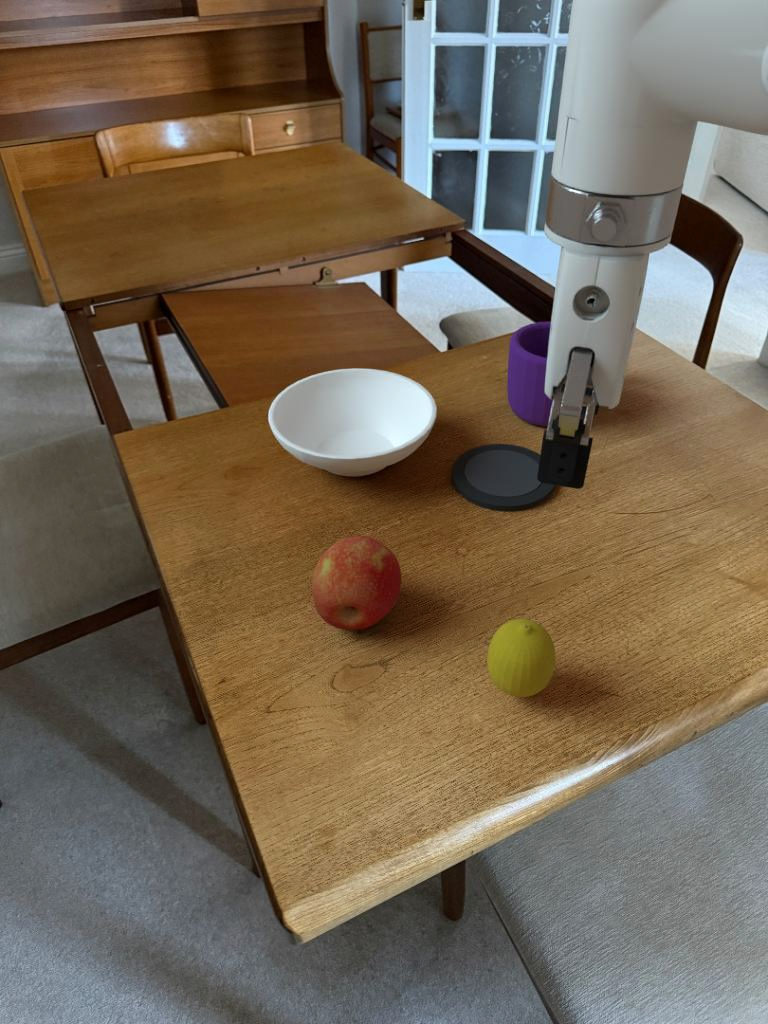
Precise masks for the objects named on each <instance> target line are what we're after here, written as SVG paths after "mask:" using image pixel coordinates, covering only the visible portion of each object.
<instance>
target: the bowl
mask: <svg viewBox="0 0 768 1024" xmlns="http://www.w3.org/2000/svg"><path fill="white" fill-rule="evenodd" d="M437 411H438V408H437V404H436V400H435V398H434V397H433V396H432V394H431V392H430V391H429V390H428V389H427V388H426V387H425V386H423V385H422V384H420V383H419V382H417V381H415V380H414V379H412V378H410V377H407V376H404V375H402V374H399V373H396V372H391V371H387V370H382V369H375V368H374V369H373V368H359V367H358V368H357V367H356V368H355V367H354V368H353V367H352V368H341V369H340V368H339V369H333V370H328V371H323V372H320V373H316V374H312V375H310V376H306V377H305V378H302V379H299V380H297V381H296V382H294V383H292V384H290V385H288V386H287V387H285V389H283V390H282V391H281V392H279V393H278V394H277V396H276V397H275V398H274V400H273V401H272V402H271V405H270V407H269V409H268V418H267V419H268V420H267V421H268V423H269V427H270V429H271V432H272V435H273V436H274V438H276V440H277V442H278V443H279V444H280V445H281V447H282V448H283V449H284V450H286V451H287V452H288V453H289V454H291V456H293V457H294V458H296V459H297V460H298V461H300V462H302V463H304V464H306V465H308V466H310V467H314V468H317V469H320V470H325V471H327V472H329V473H330V474H334V475H338V476H343V477H344V476H345V477H363V476H367V475H368V476H369V475H372V474H376V473H377V472H380V471H382V470H384V469H385V468H386V467H388V466H391V465H394V464H397V463H399V462H401V461H402V460H404V459H407V457H409V456H411V454H413V453H414V452H415V451H417V450H418V449H419V447H420V446H422V444H423V443H424V442H425V440H427V438H428V437H429V435H430V433H431V432H432V429H433V427H434V425H435V422H436V420H437Z"/></svg>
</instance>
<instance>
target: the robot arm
mask: <svg viewBox="0 0 768 1024" xmlns="http://www.w3.org/2000/svg"><path fill="white" fill-rule="evenodd" d="M570 11H571V12H570V17H569V26H568V33H567V43H566V49H565V56H564V57H565V58H564V65H563V74H562V81H561V82H562V83H561V90H560V98H559V107H558V116H557V124H556V125H557V126H556V133H555V139H554V140H555V141H554V148H553V156H552V164H551V172H550V173H551V174H550V180H549V189H548V197H547V205H546V213H545V222H544V229H543V230H544V235H545V236H546V238H547V239H548V240H549V241H551V242H552V243H554V244H556V245H557V246H560V251H559V252H560V253H559V258H558V259H559V260H558V265H557V266H558V267H557V273H556V281H555V290H554V296H553V301H552V310H551V318H550V322H551V327H550V335H549V345H548V355H547V366H546V378H545V394H546V395H547V396H548V398H550V399H551V400H552V399H553V402H552V407H551V412H550V417H549V422H548V427H546V429H544V430H543V434H542V441H541V448H540V453H539V454H540V461H539V468H538V474H537V479H538V481H539V482H542V483H547V484H553V485H555V486H558V487H560V486H561V487H564V488H565V487H566V488H570V489H575V490H580V489H581V490H582V488H583V487H585V486H584V485H585V480H586V475H587V471H588V466H589V462H590V461H589V460H590V456H591V451H592V446H593V440H594V437H590V435H591V430H592V426H593V421H594V417H595V416H596V415H598V413H599V410H600V407H607V409H609V410H612V409H614V408H616V407H617V406H618V405H619V404H620V401H621V396H622V391H623V387H624V383H625V382H624V381H625V376H626V373H627V368H628V364H629V359H630V355H631V351H632V345H633V341H634V337H635V333H636V327H637V323H638V319H639V314H640V309H641V305H642V299H643V294H644V289H645V285H646V278H647V273H648V268H649V267H648V266H649V260H650V254H652V253H655V252H658V251H661V250H663V249H664V248H666V247H667V246H668V245H669V244H670V242H671V240H672V235H673V231H674V227H675V223H676V218H677V215H678V210H679V205H680V201H681V196H682V192H683V188H684V182H685V179H686V174H687V169H688V166H689V161H690V156H691V152H692V147H693V144H694V140H695V135H696V131H697V126H698V122H700V123H705V124H711V125H714V126H720V127H723V128H724V127H725V128H728V129H733V130H737V131H742V132H746V133H751V134H755V135H761V136H767V137H768V0H572V2H571V9H570ZM559 412H560V414H559ZM581 414H585V415H584V418H581V419H580V416H581Z"/></svg>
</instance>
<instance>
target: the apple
mask: <svg viewBox="0 0 768 1024" xmlns="http://www.w3.org/2000/svg"><path fill="white" fill-rule="evenodd" d="M401 586H402V571H401V565H400V563H399V560H398V557H396V555H395V554H394V552H393V551H392V550H391V549H390V548H388V546H386V545H385V544H384V543H382V542H380V541H379V540H377V539H375V538H372V537H369V536H365V535H354V536H348V537H345V538H342V539H340V540H338V541H336V542H335V543H333V544H332V545H330V546H329V548H327V549H326V550H325V552H324V553H322V555H321V557H320V558H319V559H318V561H317V563H316V565H315V568H314V571H313V574H312V581H311V595H312V601H313V605H314V608H315V610H316V612H317V614H318V615H319V616H320V618H321V619H322V620H323V621H324V622H326V623H327V624H329V625H330V626H332V627H334V628H336V629H340V630H343V631H357V630H363V629H367V628H369V627H371V626H373V625H375V624H377V623H379V622H380V621H381V620H383V619H384V618H385V617H386V616H387V615H388V614H390V612H391V610H392V609H393V607H394V606H395V604H396V602H397V600H398V597H399V594H400V591H401V588H402V587H401Z"/></svg>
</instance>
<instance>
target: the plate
mask: <svg viewBox="0 0 768 1024" xmlns="http://www.w3.org/2000/svg"><path fill="white" fill-rule="evenodd" d="M540 454H541V453H538V452H536V451H534V450H532V449H529V448H528V447H523V446H520V445H515V444H510V443H509V444H508V443H491V444H490V443H489V444H483V445H479V446H476V447H473V448H470V449H468V450H467V451H464V452H463V453H461V454H460V455H459V456H458V457H457V458H456V460H455V461H454V463H453V465H452V467H451V482H452V485H453V487H454V489H455V490H456V492H457V493H458V494H459V495H460V496H461V497H462V498H464V499H465V500H467V501H468V502H470V503H472V504H474V505H476V506H479V507H482V508H484V509H488V510H492V511H500V512H501V511H502V512H517V511H524V510H528V509H531V508H534V507H537V506H539V505H542V504H543V503H544V502H546V501H547V500H548V499H549V498H550V497H551V496H552V494H553V493H554V491H555V488H556V485H553V484H547V483H542V482H539V481H538V479H537V474H538V468H539V461H540Z"/></svg>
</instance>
